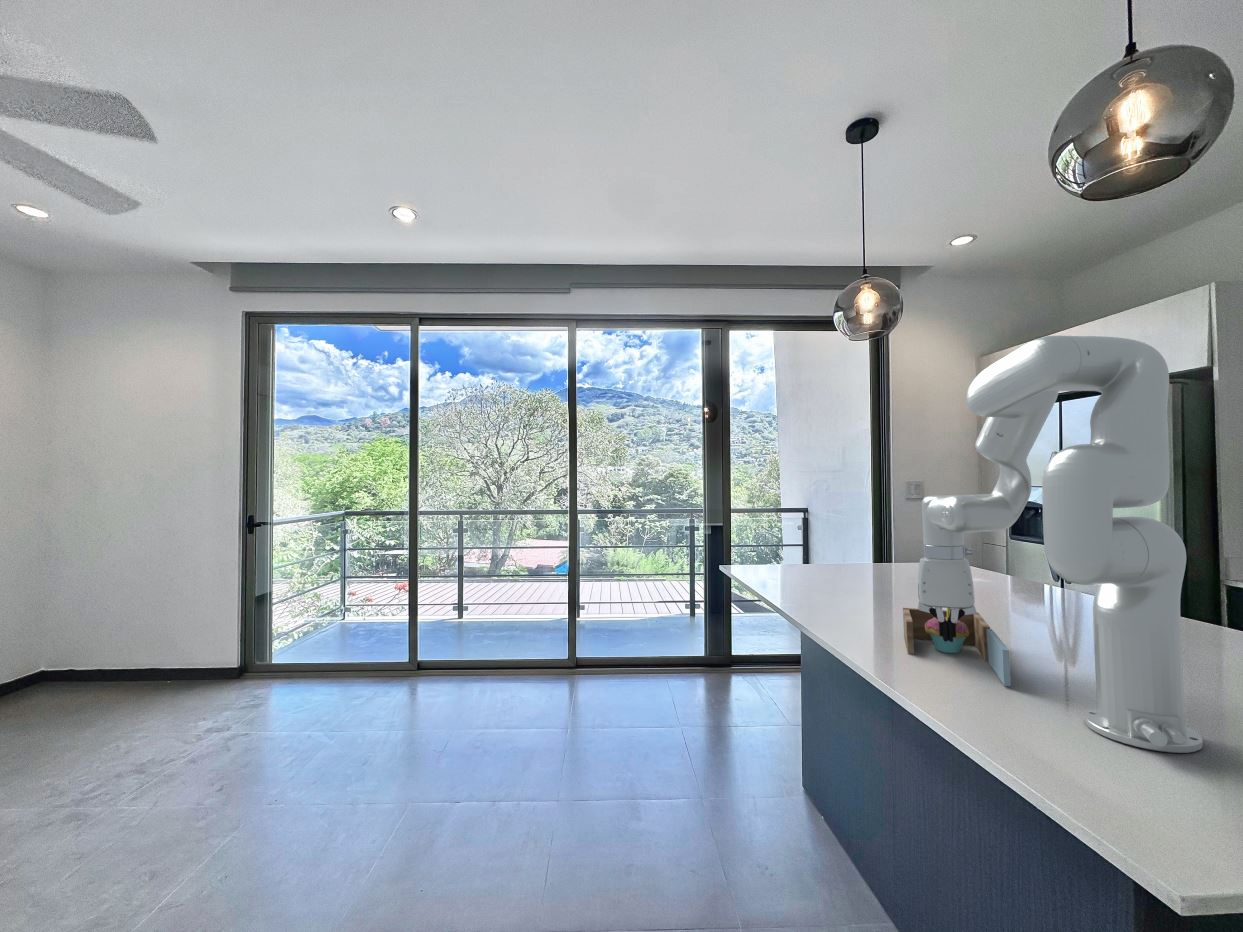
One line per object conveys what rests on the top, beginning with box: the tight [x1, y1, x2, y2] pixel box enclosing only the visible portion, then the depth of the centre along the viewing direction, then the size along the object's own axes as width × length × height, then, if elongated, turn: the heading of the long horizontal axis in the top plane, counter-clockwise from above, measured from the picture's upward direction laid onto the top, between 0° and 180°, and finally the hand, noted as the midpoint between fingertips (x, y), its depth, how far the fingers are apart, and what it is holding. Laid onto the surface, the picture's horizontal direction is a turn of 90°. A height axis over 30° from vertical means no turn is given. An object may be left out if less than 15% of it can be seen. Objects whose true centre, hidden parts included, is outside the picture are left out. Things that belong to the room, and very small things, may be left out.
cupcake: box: [925, 608, 969, 654], centre depth 123 cm, size 9×8×12 cm
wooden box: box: [902, 607, 991, 663], centre depth 124 cm, size 14×15×7 cm
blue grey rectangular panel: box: [987, 628, 1012, 687], centre depth 107 cm, size 1×15×6 cm, turn 156°
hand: (947, 639), depth 118 cm, fingers closed
